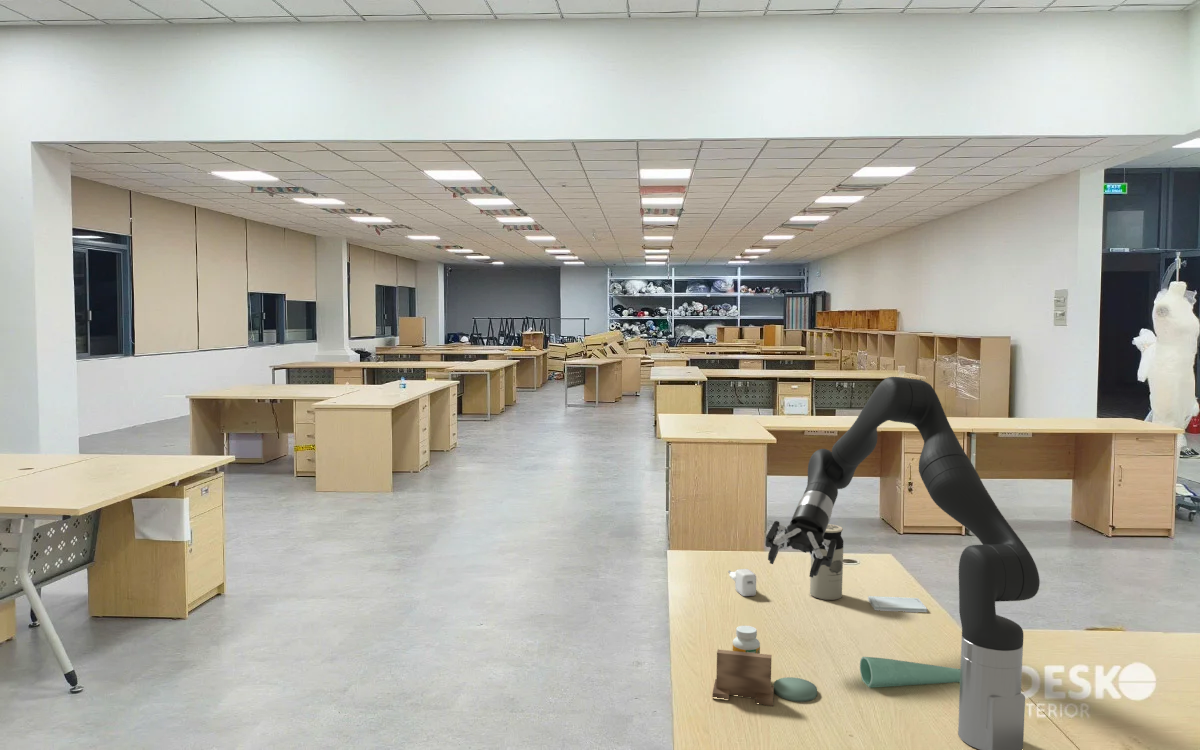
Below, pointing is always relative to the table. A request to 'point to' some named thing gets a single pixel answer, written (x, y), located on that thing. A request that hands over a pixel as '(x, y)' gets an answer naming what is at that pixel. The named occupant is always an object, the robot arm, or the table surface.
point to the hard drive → (897, 604)
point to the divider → (744, 676)
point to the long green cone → (904, 673)
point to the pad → (795, 689)
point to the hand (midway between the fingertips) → (791, 567)
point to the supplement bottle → (746, 640)
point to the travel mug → (829, 569)
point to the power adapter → (744, 581)
